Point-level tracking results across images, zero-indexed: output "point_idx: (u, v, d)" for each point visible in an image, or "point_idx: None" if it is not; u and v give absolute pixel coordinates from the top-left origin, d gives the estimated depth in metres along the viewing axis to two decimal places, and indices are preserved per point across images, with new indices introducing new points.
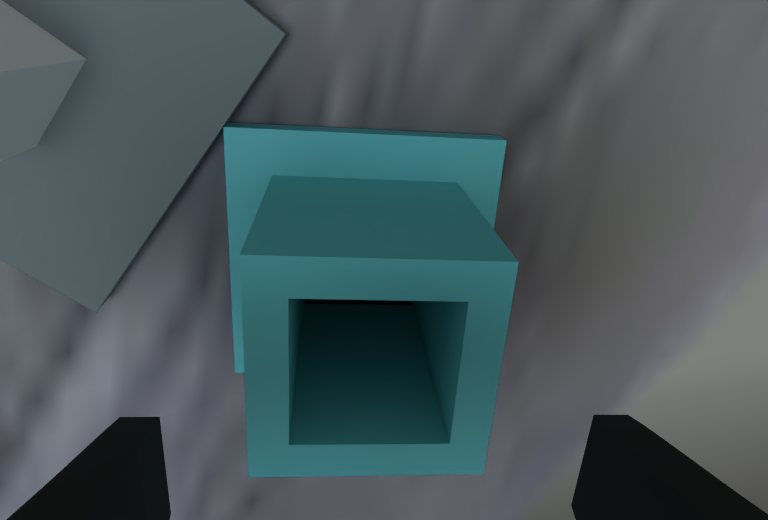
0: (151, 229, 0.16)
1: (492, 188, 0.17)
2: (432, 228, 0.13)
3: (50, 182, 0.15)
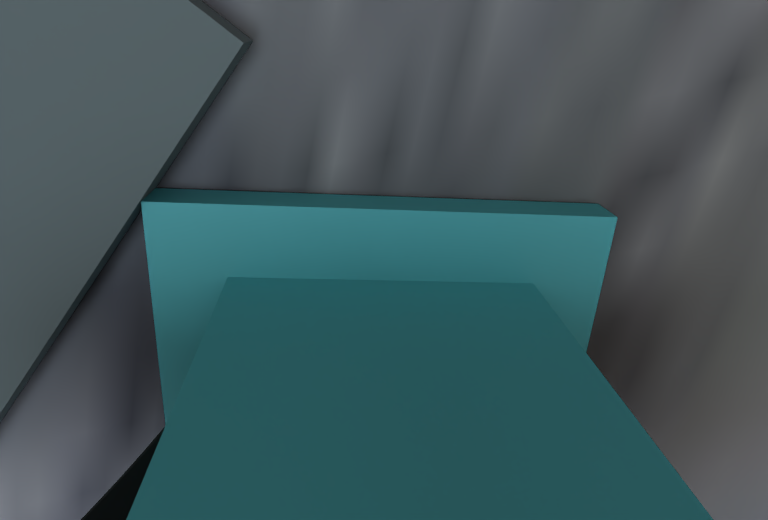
0: (29, 365, 0.10)
1: (588, 291, 0.10)
2: (530, 444, 0.06)
3: None
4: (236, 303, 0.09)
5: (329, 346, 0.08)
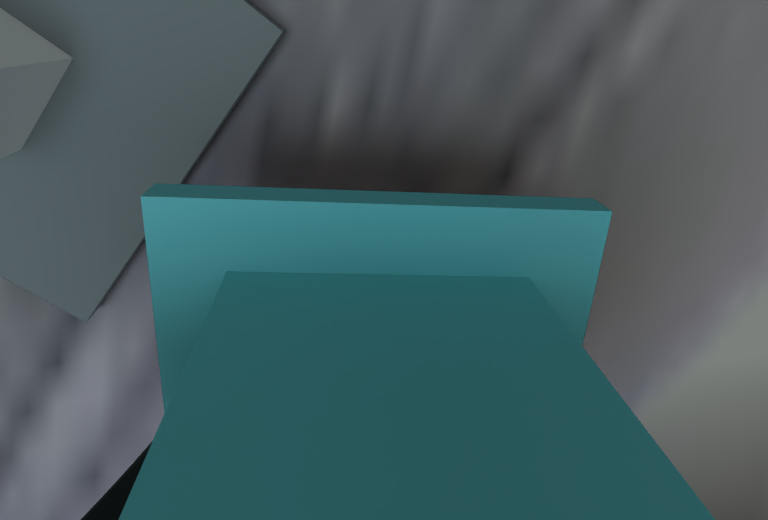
0: (143, 236, 0.16)
1: (584, 285, 0.10)
2: (523, 430, 0.06)
3: (36, 187, 0.15)
4: (234, 296, 0.09)
5: (326, 337, 0.08)
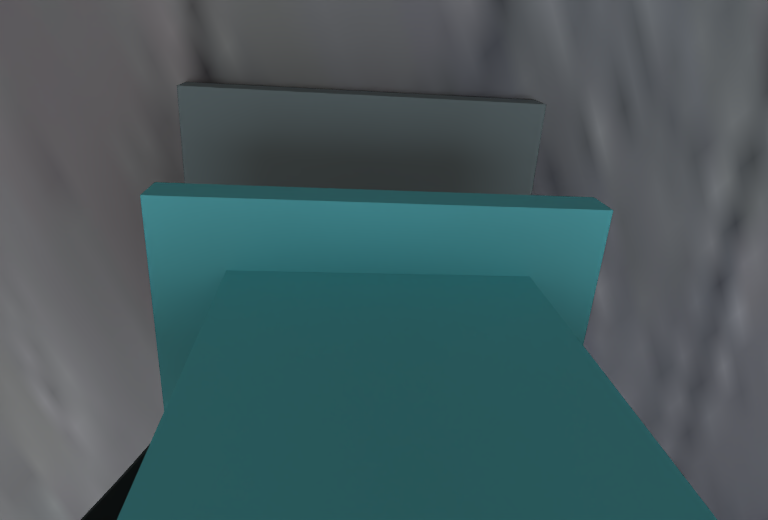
0: None
1: (585, 284, 0.10)
2: (524, 430, 0.06)
3: None
4: (234, 295, 0.09)
5: (326, 336, 0.08)
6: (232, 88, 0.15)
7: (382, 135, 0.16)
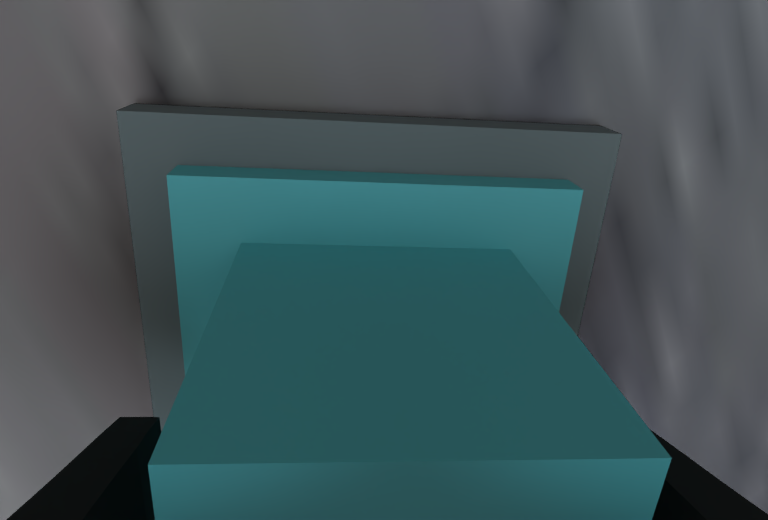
0: None
1: (559, 256, 0.12)
2: (496, 363, 0.08)
3: None
4: (249, 262, 0.10)
5: (330, 294, 0.09)
6: (194, 114, 0.11)
7: None
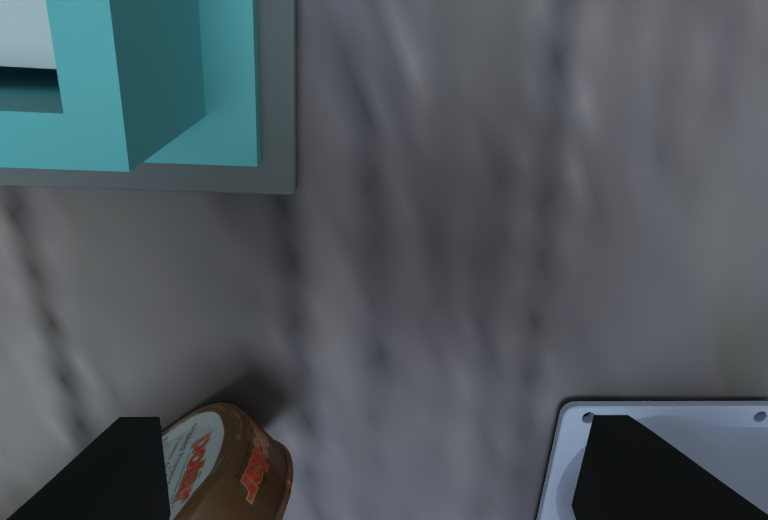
0: (293, 78, 0.15)
1: None
2: None
3: None
4: None
5: None
6: None
7: None
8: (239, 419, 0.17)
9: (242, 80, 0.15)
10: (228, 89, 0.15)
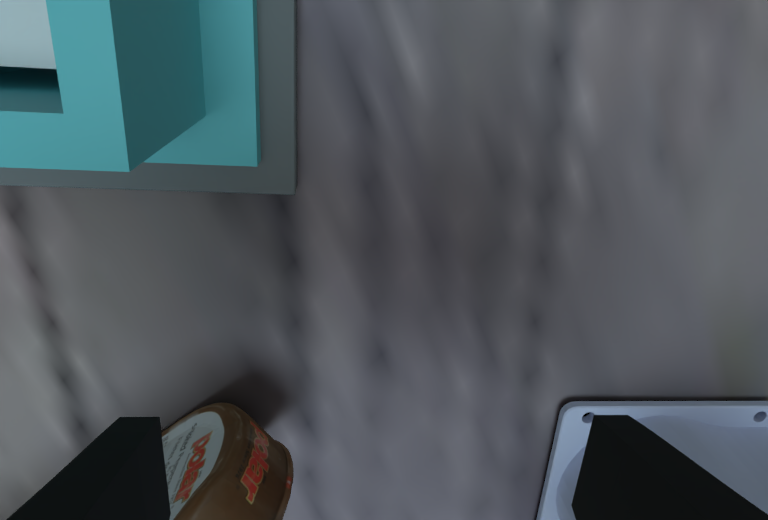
0: (293, 78, 0.15)
1: None
2: None
3: None
4: None
5: None
6: None
7: None
8: (239, 419, 0.17)
9: (242, 80, 0.15)
10: (228, 89, 0.15)
